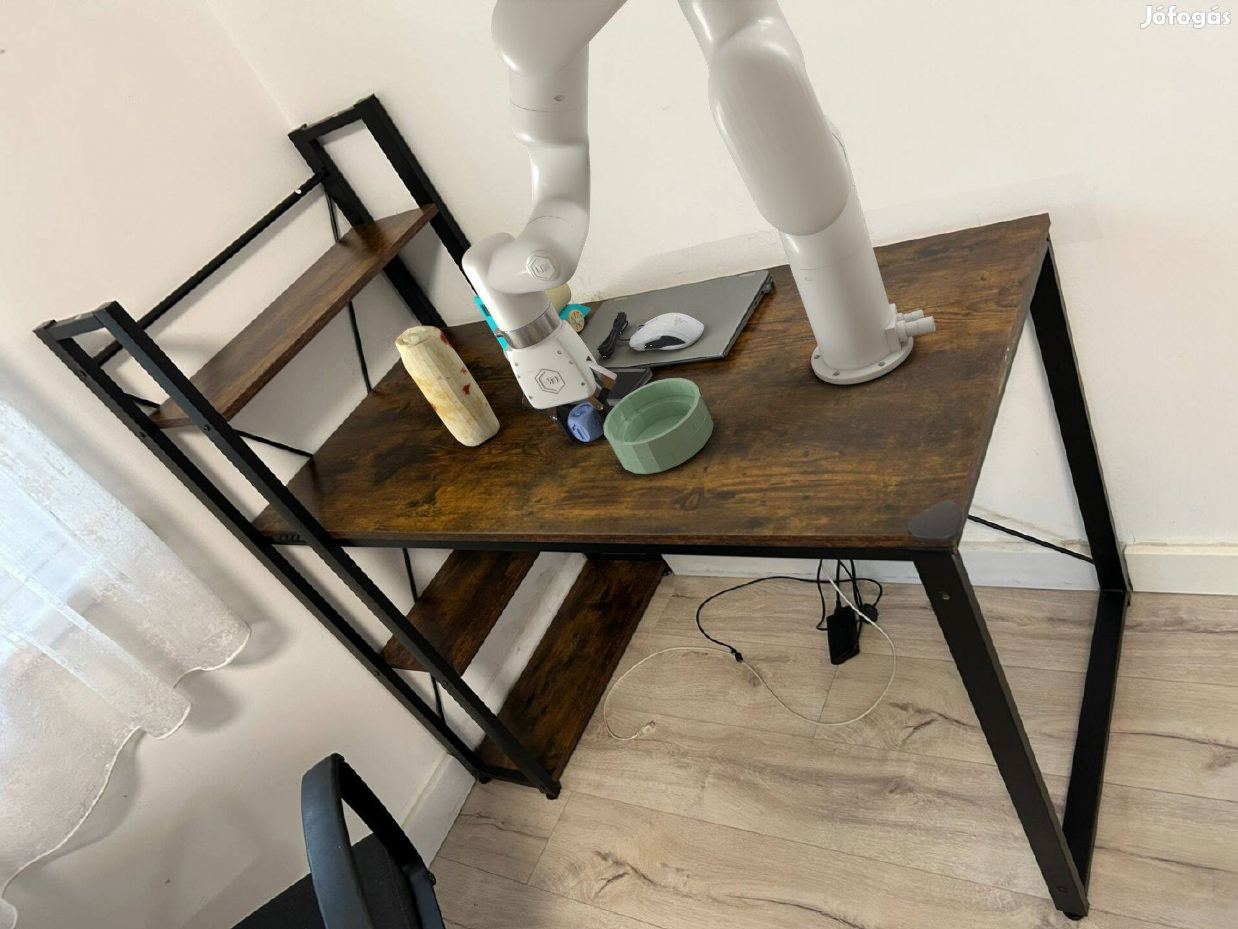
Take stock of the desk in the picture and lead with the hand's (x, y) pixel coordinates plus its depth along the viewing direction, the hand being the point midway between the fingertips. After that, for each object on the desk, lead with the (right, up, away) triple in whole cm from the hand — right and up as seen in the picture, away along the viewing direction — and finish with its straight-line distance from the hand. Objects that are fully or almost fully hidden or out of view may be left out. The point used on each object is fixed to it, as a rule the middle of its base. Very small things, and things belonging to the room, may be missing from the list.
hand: (592, 430), depth 123 cm
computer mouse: (+10, +15, +14) cm, 22 cm away
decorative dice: (0, 0, 0) cm, 1 cm away
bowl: (+10, -2, -9) cm, 14 cm away
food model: (-18, 0, +15) cm, 23 cm away
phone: (+2, +6, +9) cm, 11 cm away
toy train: (-7, +16, +29) cm, 34 cm away
